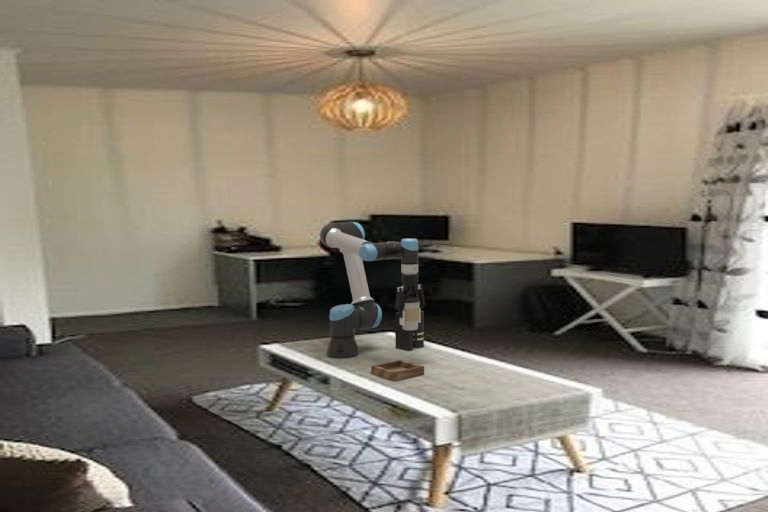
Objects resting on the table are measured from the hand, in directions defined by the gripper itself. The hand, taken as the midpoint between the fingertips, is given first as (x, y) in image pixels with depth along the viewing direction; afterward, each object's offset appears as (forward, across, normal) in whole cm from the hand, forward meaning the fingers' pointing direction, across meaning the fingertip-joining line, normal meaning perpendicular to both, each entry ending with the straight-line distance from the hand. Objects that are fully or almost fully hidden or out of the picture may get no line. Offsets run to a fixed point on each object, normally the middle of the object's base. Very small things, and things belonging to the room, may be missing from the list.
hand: (410, 323), depth 311 cm
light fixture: (+19, +21, +24) cm, 37 cm away
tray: (+18, -16, -10) cm, 26 cm away
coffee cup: (+3, 0, 0) cm, 3 cm away
